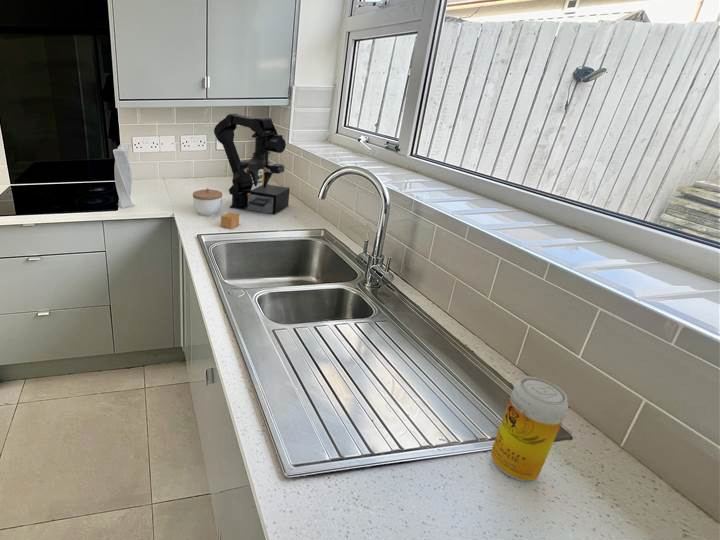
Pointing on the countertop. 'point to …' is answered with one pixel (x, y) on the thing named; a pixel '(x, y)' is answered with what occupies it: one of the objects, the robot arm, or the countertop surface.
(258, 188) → the drawer box
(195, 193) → the lidded bowl
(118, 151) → the skyscraper
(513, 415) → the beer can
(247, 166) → the robot arm
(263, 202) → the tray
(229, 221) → the wooden block
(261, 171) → the baking soda box
